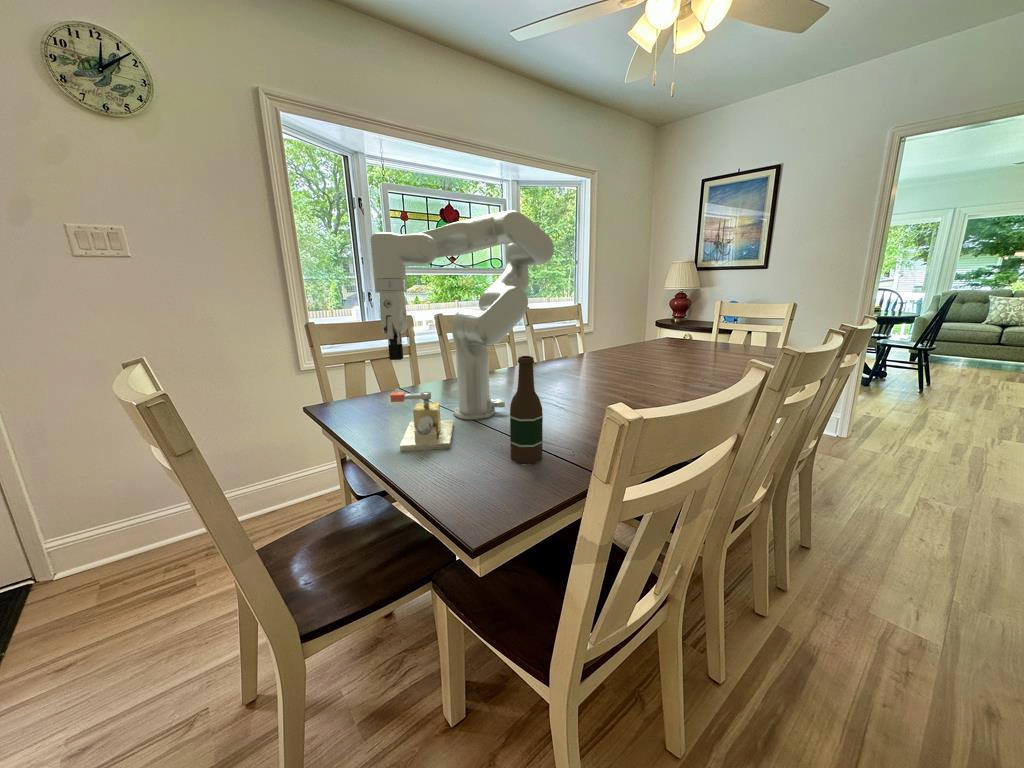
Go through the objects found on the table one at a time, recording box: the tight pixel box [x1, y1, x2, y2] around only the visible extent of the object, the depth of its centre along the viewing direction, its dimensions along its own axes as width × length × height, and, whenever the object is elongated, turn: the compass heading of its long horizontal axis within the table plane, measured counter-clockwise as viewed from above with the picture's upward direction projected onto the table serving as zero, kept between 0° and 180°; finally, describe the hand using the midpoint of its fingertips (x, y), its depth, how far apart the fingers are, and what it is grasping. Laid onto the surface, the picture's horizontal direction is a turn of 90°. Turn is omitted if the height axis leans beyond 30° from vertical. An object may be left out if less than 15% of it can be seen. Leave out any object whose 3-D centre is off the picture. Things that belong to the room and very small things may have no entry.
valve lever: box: [389, 391, 432, 403], centre depth 101 cm, size 10×3×2 cm, turn 95°
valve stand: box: [399, 399, 454, 452], centre depth 103 cm, size 12×16×10 cm
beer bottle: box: [509, 355, 544, 465], centre depth 89 cm, size 8×8×24 cm
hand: (396, 359), depth 102 cm, fingers closed
